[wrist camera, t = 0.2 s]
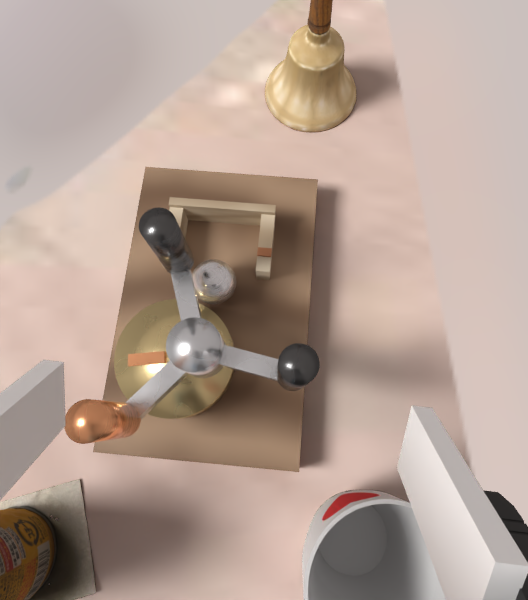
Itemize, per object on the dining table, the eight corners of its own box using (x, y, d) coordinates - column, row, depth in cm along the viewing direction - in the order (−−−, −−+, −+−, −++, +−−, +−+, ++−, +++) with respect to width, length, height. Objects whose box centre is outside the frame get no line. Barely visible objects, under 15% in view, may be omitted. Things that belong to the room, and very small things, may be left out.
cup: (414, 482, 30) (482, 513, 20) (407, 614, 28) (480, 718, 18) (299, 464, 30) (314, 486, 21) (284, 593, 28) (292, 684, 19)
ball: (235, 311, 31) (231, 299, 28) (192, 307, 31) (184, 295, 28) (239, 269, 32) (236, 254, 29) (197, 266, 32) (190, 250, 29)
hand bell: (341, 143, 37) (393, -48, 22) (252, 118, 38) (241, -83, 23) (366, 69, 39) (428, -153, 24) (281, 47, 40) (288, -182, 25)
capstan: (290, 258, 32) (299, 195, 23) (308, 420, 29) (326, 422, 20) (123, 272, 32) (64, 215, 23) (122, 436, 29) (54, 446, 20)
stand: (297, 468, 30) (301, 476, 26) (104, 449, 31) (77, 454, 27) (315, 192, 36) (321, 162, 32) (152, 180, 37) (136, 149, 32)
